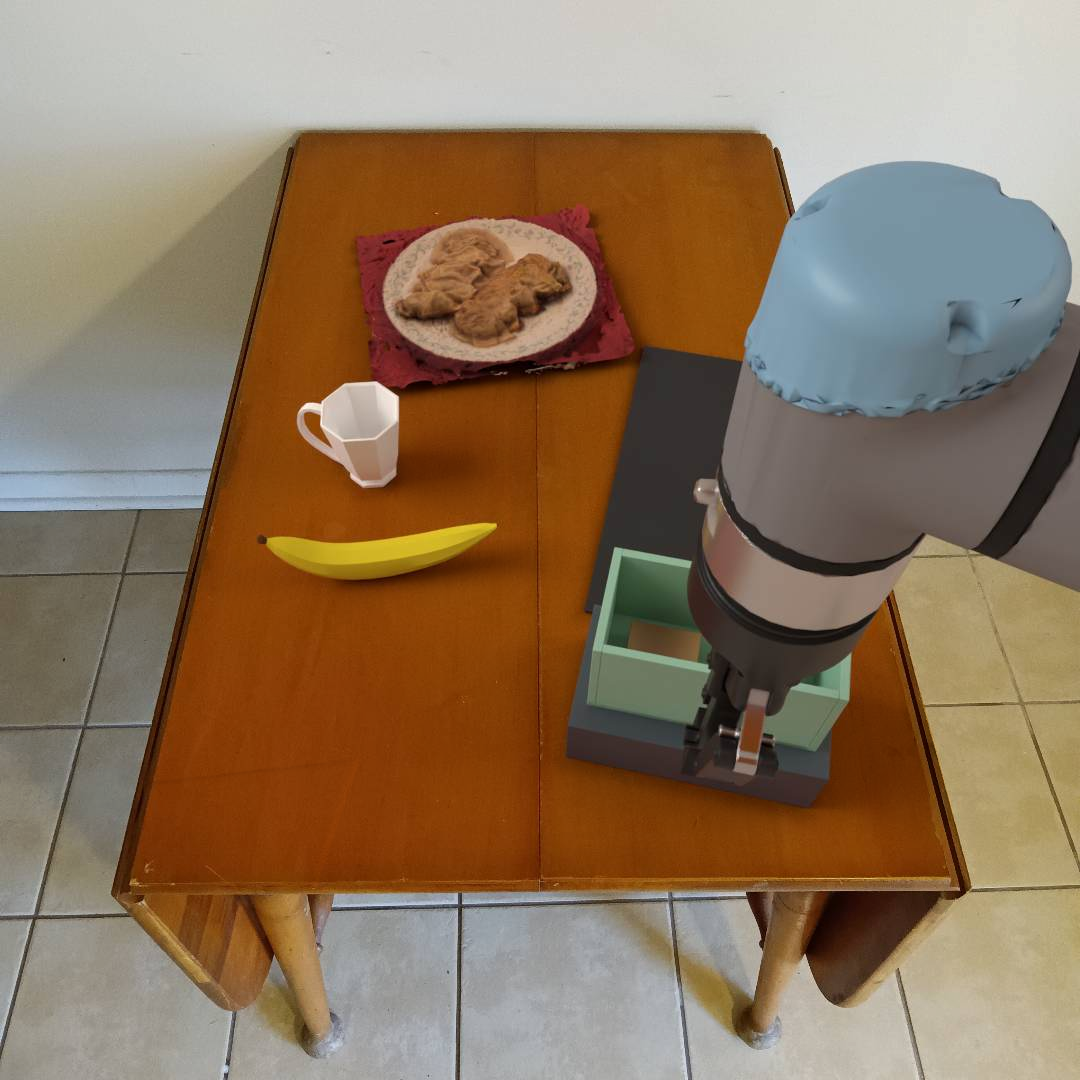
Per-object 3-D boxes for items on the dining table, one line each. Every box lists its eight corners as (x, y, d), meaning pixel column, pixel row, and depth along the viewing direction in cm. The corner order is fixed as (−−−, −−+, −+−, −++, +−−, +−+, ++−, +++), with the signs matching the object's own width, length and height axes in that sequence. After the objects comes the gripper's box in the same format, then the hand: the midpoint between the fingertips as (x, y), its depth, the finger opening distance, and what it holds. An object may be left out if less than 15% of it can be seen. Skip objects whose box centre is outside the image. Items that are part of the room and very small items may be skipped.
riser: (816, 685, 74) (836, 650, 69) (808, 808, 69) (829, 780, 64) (590, 640, 77) (594, 604, 72) (565, 756, 71) (567, 725, 66)
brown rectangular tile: (697, 648, 69) (701, 633, 67) (690, 693, 67) (695, 678, 65) (628, 635, 69) (631, 619, 67) (620, 679, 68) (623, 664, 66)
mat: (784, 369, 93) (785, 367, 93) (755, 645, 76) (755, 643, 76) (643, 347, 95) (644, 345, 95) (584, 612, 78) (584, 610, 78)
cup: (394, 509, 84) (382, 451, 77) (291, 481, 85) (270, 422, 79) (424, 450, 88) (414, 390, 81) (324, 424, 89) (307, 363, 82)
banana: (501, 572, 80) (499, 529, 75) (274, 595, 79) (255, 553, 74) (498, 543, 82) (495, 500, 77) (275, 565, 81) (257, 523, 75)
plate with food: (635, 366, 94) (639, 340, 91) (374, 396, 91) (369, 370, 88) (585, 216, 107) (587, 189, 104) (356, 237, 104) (351, 210, 101)
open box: (822, 650, 69) (854, 591, 62) (815, 752, 65) (849, 700, 58) (607, 608, 71) (614, 546, 64) (586, 705, 67) (592, 649, 60)
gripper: (717, 413, 41) (657, 658, 61) (676, 683, 34) (624, 861, 54) (894, 442, 40) (775, 681, 60) (890, 725, 33) (757, 891, 53)
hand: (704, 766), depth 57 cm, fingers closed
